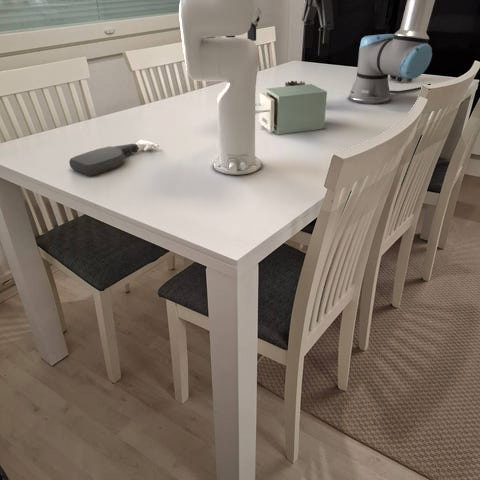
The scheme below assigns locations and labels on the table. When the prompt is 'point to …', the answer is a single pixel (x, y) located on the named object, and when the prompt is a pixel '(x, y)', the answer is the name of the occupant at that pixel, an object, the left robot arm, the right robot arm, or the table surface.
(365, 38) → the right robot arm
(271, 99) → the drawer
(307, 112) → the mint green storage box
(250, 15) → the left robot arm
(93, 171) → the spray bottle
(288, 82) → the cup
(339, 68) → the table surface
